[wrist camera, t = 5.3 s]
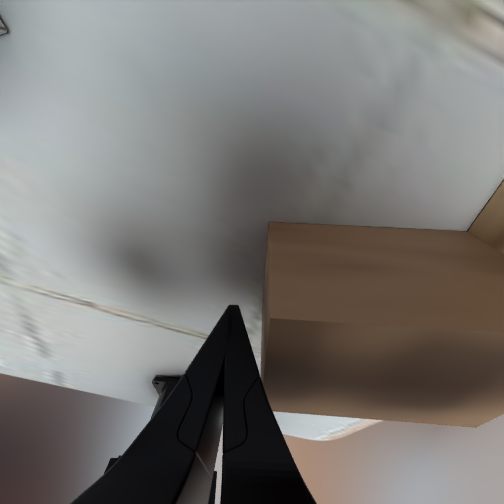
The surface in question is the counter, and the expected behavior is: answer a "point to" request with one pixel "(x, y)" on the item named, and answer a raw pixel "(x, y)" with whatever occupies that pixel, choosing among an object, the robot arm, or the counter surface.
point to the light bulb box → (2, 28)
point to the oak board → (491, 222)
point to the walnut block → (383, 324)
